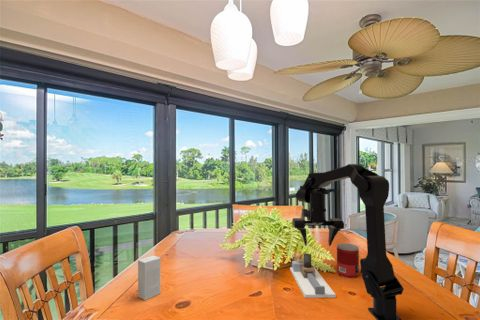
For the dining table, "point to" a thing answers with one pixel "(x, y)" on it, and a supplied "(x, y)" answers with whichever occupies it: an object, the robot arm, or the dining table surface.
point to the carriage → (307, 265)
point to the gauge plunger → (298, 256)
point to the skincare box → (149, 277)
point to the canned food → (348, 260)
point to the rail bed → (309, 288)
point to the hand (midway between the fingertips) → (317, 245)
